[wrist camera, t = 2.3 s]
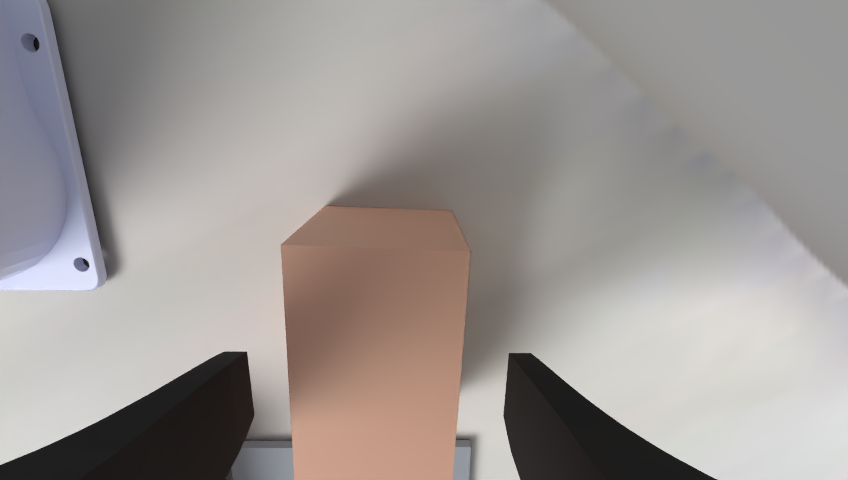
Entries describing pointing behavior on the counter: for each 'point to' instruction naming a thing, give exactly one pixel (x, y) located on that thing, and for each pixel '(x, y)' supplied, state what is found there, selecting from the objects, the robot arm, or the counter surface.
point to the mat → (274, 471)
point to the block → (375, 342)
